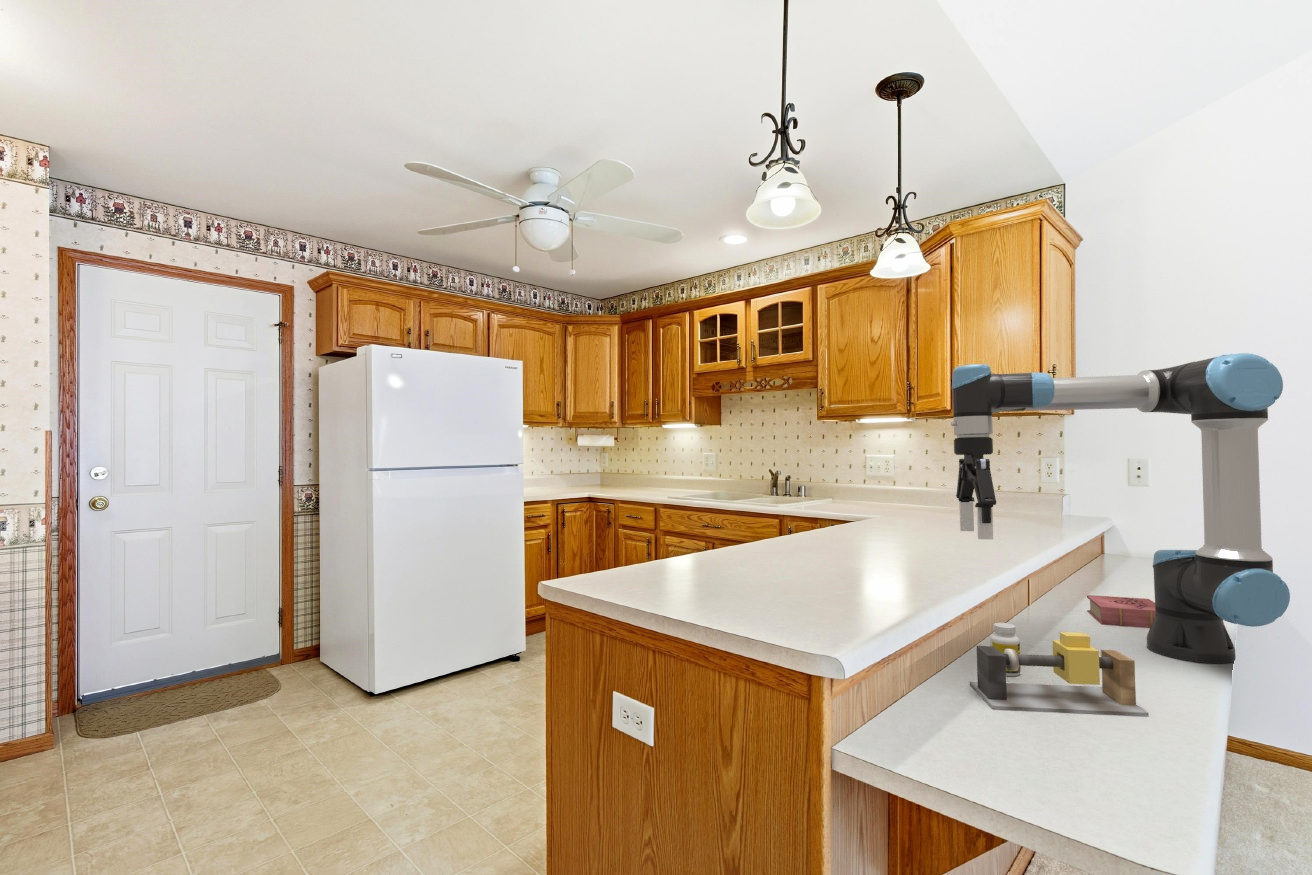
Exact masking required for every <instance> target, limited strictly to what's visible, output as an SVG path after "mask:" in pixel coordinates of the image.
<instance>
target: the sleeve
mask: <svg viewBox="0 0 1312 875" xmlns="http://www.w3.org/2000/svg"><path fill="white" fill-rule="evenodd" d="M1052 655H1057V656H1064V667H1052V669H1053V673H1054V674H1055V675H1057V676H1058V677H1060V679H1062V680H1063V681H1064V682H1066V683H1067V684H1069V685H1088V686H1090V685H1092V686H1093V685H1094V686H1099V685H1100V686H1101V679H1100V675H1101V674H1100V673H1101V672H1100V668H1099V657H1100V652H1099V649H1097V648H1094V647H1093V646H1091V636H1090V635H1088V634H1086V633H1084V632H1069V631H1067V632H1063V631H1060V632H1059V639H1058V640H1057V639H1052Z"/></svg>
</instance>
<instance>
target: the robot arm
mask: <svg viewBox="0 0 1312 875" xmlns="http://www.w3.org/2000/svg"><path fill="white" fill-rule="evenodd" d="M951 377H952V378H951V380H952V381H951V391H952V408H953V410H952V412H953V415H952V417H953V421H951V422H950V425H951V427H953V435H954V436H956V437H955V438H954V439H953V451H954V452H953V453H954V455H956V456H963V458H959V459H958V466H959V468H958V476H957V486H956V494H955V496H956V499H957V500H958V502H959V530H960V532H974V531H975V521H974V520H975V519H974V517H975V516H974V513H975V512H974V508H976V516H977V517H976V519H977V520H976V521H977V524H976V525H977V539H978V540H994V520H993V517H994V516H993V507H994V506H996V505H997V499H996V495H995V494H996V493H995V488H994V483H993V478H992V473H991V461H990V459H989V458H984V455H992V454H993V453H994V443H993V441H994V440H993V438H992V437H991V436H990V435H993V432H994V430H993V414H999V413H1008V412H1009V413H1010V412H1014V413H1015V412H1034V411H1035V412H1037V411H1040V412H1041V411H1071V410H1074V411H1075V410H1076V411H1077V410H1082V411H1083V410H1110V409H1111V410H1114V409H1115V410H1118V409H1120V410H1121V409H1137V410H1138V411H1139V412H1141V413H1164V414H1165V413H1167V414H1181V415H1182V414H1183V415H1190V418H1191V423H1192V425H1194V426H1196V427H1197V428H1199V429H1200V432H1201V434H1200V435H1201V436H1200V437H1201V438H1200V439H1201V466H1202V467H1201V470H1202V471H1201V472H1202V502H1203V530H1204V531H1203V536H1204V537H1203V539H1204V540H1203V541H1204V544H1203V545H1202V546H1201V547H1200V548H1199V549H1159V550H1157V551H1155V552H1154V554H1153V560H1152V568H1153V586H1154V588H1153V589H1154V590H1153V591H1154V602H1155V617H1154V619H1153V622H1152V624H1151V627H1150V628H1149V629H1148V632H1147V635H1146V648H1148V650H1150V651H1152V652H1154V653H1156V654H1159V655H1163V656H1165V657H1171V658H1173V659H1178V660H1183V661H1184V660H1185V661H1190V662H1197V663H1207V664H1226V663H1227V664H1229V663H1233V662H1235V661H1236V649H1235V646H1234V643H1233V640H1232V639H1231V636H1230V635H1229V632H1228V630H1227V627H1226V625H1225V623H1224V622H1228V623H1230V624H1235V625H1241V626H1245V627H1256V628H1257V627H1263V626H1267V625H1269V624H1272V623H1274V622H1275V621H1276V620H1277V619H1278V618H1281V617H1282V616H1283V615H1284V614H1285V613H1286V611H1287V609H1288V608H1289V605H1290V601H1291V593H1290V589H1289V587H1288V584H1287V583H1286V582H1285V581H1284V580H1282V578H1281V576H1279V575H1278V574H1276V573H1275V572H1274V568H1273V567H1274V564H1273V563H1274V562H1273V557H1272V556H1271V555H1270V554H1268V553H1267V552H1266V551H1265V550H1264V549H1263V548H1262V545H1263V544H1262V522H1261V521H1262V520H1261V519H1262V518H1261V516H1262V515H1261V487H1260V485H1261V483H1260V456H1259V429H1260V427H1261V426H1262V425H1264V424H1265V423H1266V422H1267V421H1269V407H1271V406H1272V405H1274V404H1275V403H1276V401H1277V400H1278V399H1280V398H1281V395H1282V393H1283V389H1284V380H1283V377H1282V374H1281V372H1280V371H1279V369H1278V367H1276V366H1275V365H1274V364H1273V362H1270V361H1269V360H1268V359H1267V358H1265V357H1262V356H1260V355H1259V354H1258V355H1257V354H1254V353H1249V352H1245V353H1244V352H1241V353H1230V354H1229V353H1228V354H1221V355H1219V356H1215V357H1212V358H1206V359H1203V360H1198V361H1191V362H1187V363H1183V364H1180V365H1179V364H1178V365H1175V366H1170V367H1166V368H1159V369H1149V370H1146V369H1145V370H1142V371H1140V372H1138V373H1137V374H1133V375H1132V374H1131V375H1105V376H1103V375H1101V376H1077V377H1075V376H1074V377H1072V376H1071V377H1052V376H1051V375H1050V374H1049V373H1048V372H1034V371H1031V372H1018V373H1016V372H1015V373H992V371H991V367H990V365H988V364H981V363H980V364H979V363H976V364H975V363H974V364H966V365H965V364H964V365H958V366H957V367H955V368H954V369H953V371H952V376H951ZM974 493H975V496H976V500H977V502H976V500H975V497H973V495H974ZM974 502H976V503H975V505H974Z"/></svg>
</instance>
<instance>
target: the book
mask: <svg viewBox="0 0 1312 875" xmlns="http://www.w3.org/2000/svg"><path fill="white" fill-rule="evenodd" d="M1086 598H1087V599H1088V600H1089V607H1090V608H1089V609H1087V610H1086V611H1087V612H1088V614H1090V615H1091V616H1092V617H1093V618H1094V619H1095V620H1096V621H1097V622H1098V623H1099V624H1100V625H1104V626H1105V625H1106V626H1116V627H1117V626H1118V627H1130V628H1131V627H1133V628H1145V629H1150V627H1151V624H1152V622H1153V619H1154V617H1155V601H1153V600H1152V599H1150V598H1142V597H1140V598H1139V597H1128V596H1127V597H1126V596H1125V597H1123V596H1112V595H1111V596H1108V595H1107V596H1106V595H1094V594H1093V595H1091V594H1086Z"/></svg>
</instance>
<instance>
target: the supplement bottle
mask: <svg viewBox="0 0 1312 875" xmlns="http://www.w3.org/2000/svg"><path fill="white" fill-rule="evenodd" d="M1016 629H1017V628H1016V625H1014V624H1012V623H1007V622H995V623H993V632H994V633H992V634H990V637H989V646H994V647H995V648H996V649H997V650H998V651H1000V652H1001V653H1002V654H1004V650H1005V649H1014V650H1015V651H1016V653H1017V654H1021V645H1020V644H1021V642H1020V638H1019V637H1018V636H1017V635H1015V634H1016V633H1017V632H1016ZM1020 675H1021V666H1019V667H1018V670H1017V671H1013V670H1008V669H1007V668H1006V677H1019V676H1020Z"/></svg>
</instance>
